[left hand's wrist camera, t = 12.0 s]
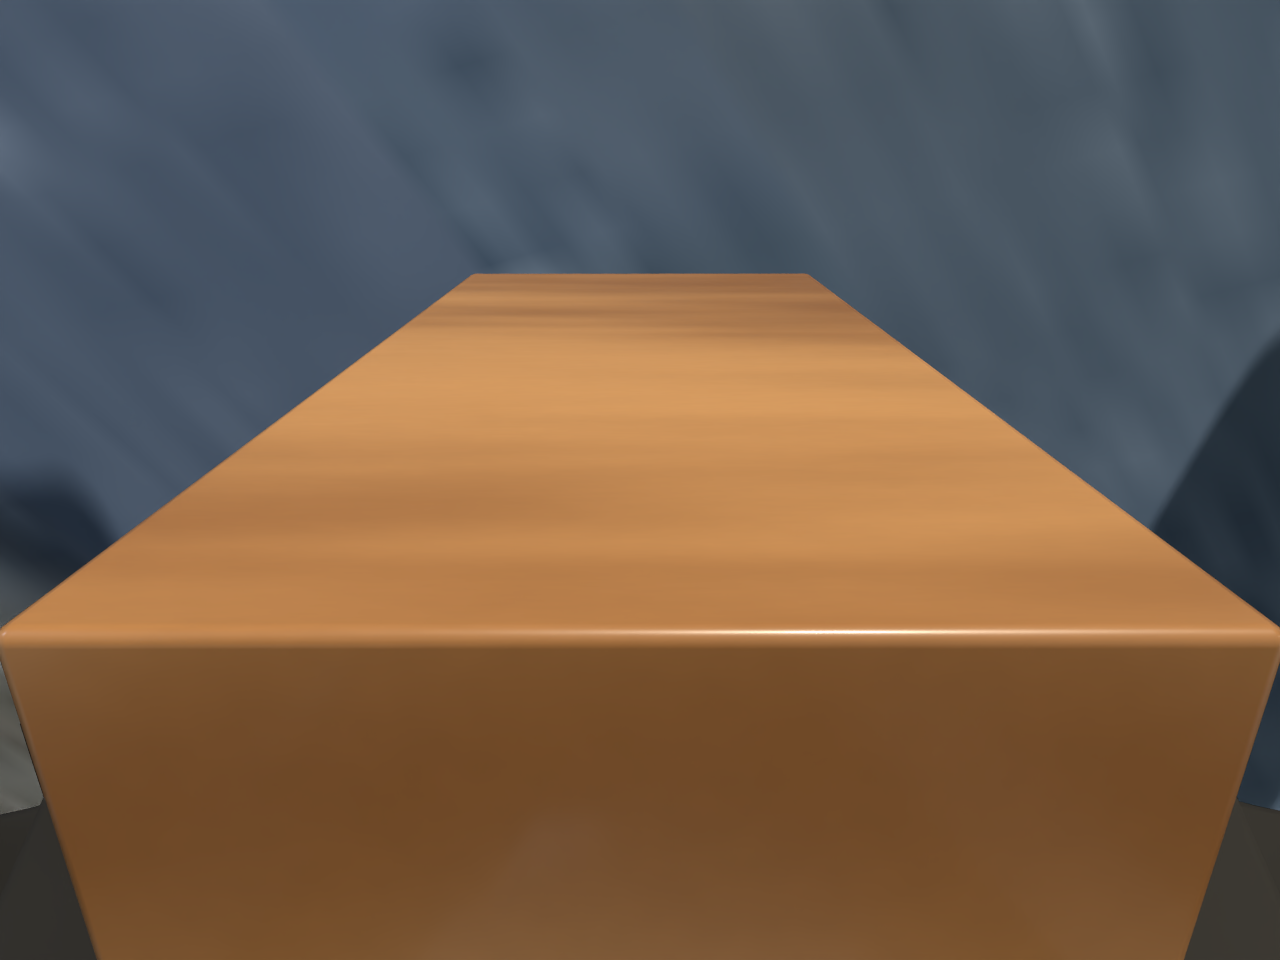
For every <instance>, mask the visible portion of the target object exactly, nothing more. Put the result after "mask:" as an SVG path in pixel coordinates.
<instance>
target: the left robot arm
mask: <svg viewBox="0 0 1280 960" xmlns="http://www.w3.org/2000/svg"><path fill="white" fill-rule="evenodd" d="M20 726H21V723H20ZM21 729H22V726H21ZM22 732H23V729H22ZM23 735H24V732H23ZM24 738H25V735H24ZM25 741H26V738H25ZM26 744H27V742H26ZM27 747H28V745H27ZM28 750H29V748H28ZM29 753H30V751H29ZM30 756H31V754H30ZM31 759H32V757H31ZM32 763H33V760H32ZM33 766H34V763H33ZM34 769H35V766H34ZM35 772H36V769H35ZM36 775H37V773H36ZM37 778H38V776H37ZM38 781H39V779H38ZM39 784H40V782H39ZM40 787H41V785H40ZM41 790H42V788H41ZM42 793H43V791H42ZM43 796H44V794H43ZM0 960H97V958H96V955H95V952H94V949H93V946H92V943H91V940H90V937H89V933H88V930H87V927H86V924H85V921H84V918H83V915H82V912H81V909H80V906H79V903H78V899H77V896H76V893H75V890H74V887H73V884H72V881H71V878H70V875H69V872H68V868H67V865H66V862H65V859H64V856H63V853H62V850H61V847H60V844H59V841H58V838H57V834H56V831H55V828H54V825H53V822H52V819H51V816H50V813H49V810H48V807H47V803H46V800H45V797H44V798H43V800H42V802H41V805H40V806H36V807H32V808H29V809H24V810H20V811H15V812H10V813H6V814H1V815H0ZM1184 960H1280V811H1278V810H1273V809H1268V808H1264V807H1259V806H1254V805H1251V804H1247V803H1243V802H1240V801H1238V798H1237V796H1236V799H1235V803H1234V806H1233V809H1232V812H1231V815H1230V818H1229V821H1228V824H1227V827H1226V831H1225V834H1224V837H1223V840H1222V843H1221V846H1220V849H1219V852H1218V855H1217V858H1216V862H1215V865H1214V868H1213V871H1212V874H1211V877H1210V880H1209V883H1208V886H1207V889H1206V893H1205V896H1204V899H1203V902H1202V905H1201V908H1200V911H1199V914H1198V917H1197V920H1196V924H1195V927H1194V930H1193V933H1192V936H1191V939H1190V942H1189V945H1188V948H1187V951H1186V955H1185V958H1184Z"/></svg>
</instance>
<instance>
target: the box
mask: <svg viewBox="0 0 1280 960" xmlns="http://www.w3.org/2000/svg"><path fill="white" fill-rule="evenodd" d="M0 661H1V664H2V667H3V670H4V674H5V677H6V680H7V683H8V686H9V689H10V692H11V695H12V698H13V701H14V704H15V708H16V711H17V714H18V717H19V720H20V723H21V726H22V729H23V732H24V735H25V738H26V742H27V745H28V748H29V751H30V754H31V757H32V760H33V763H34V766H35V769H36V773H37V776H38V779H39V782H40V785H41V788H42V791H43V794H44V797H45V800H46V803H47V807H48V810H49V813H50V816H51V819H52V822H53V825H54V828H55V831H56V834H57V838H58V841H59V844H60V847H61V850H62V853H63V856H64V859H65V862H66V865H67V868H68V872H69V875H70V878H71V881H72V884H73V887H74V890H75V893H76V896H77V899H78V903H79V906H80V909H81V912H82V915H83V918H84V921H85V924H86V927H87V930H88V933H89V937H90V940H91V943H92V946H93V949H94V952H95V955H96V958H97V960H1184V958H1185V955H1186V951H1187V948H1188V945H1189V942H1190V939H1191V936H1192V933H1193V930H1194V927H1195V924H1196V920H1197V917H1198V914H1199V911H1200V908H1201V905H1202V902H1203V899H1204V896H1205V893H1206V889H1207V886H1208V883H1209V880H1210V877H1211V874H1212V871H1213V868H1214V865H1215V862H1216V858H1217V855H1218V852H1219V849H1220V846H1221V843H1222V840H1223V837H1224V834H1225V831H1226V827H1227V824H1228V821H1229V818H1230V815H1231V812H1232V809H1233V806H1234V803H1235V799H1236V796H1237V793H1238V790H1239V787H1240V784H1241V781H1242V778H1243V775H1244V772H1245V768H1246V765H1247V762H1248V759H1249V756H1250V753H1251V750H1252V747H1253V744H1254V741H1255V737H1256V734H1257V731H1258V728H1259V725H1260V722H1261V719H1262V716H1263V713H1264V710H1265V706H1266V703H1267V700H1268V697H1269V694H1270V691H1271V688H1272V685H1273V682H1274V679H1275V675H1276V672H1277V669H1278V666H1279V663H1280V628H1279V627H1278V626H1277V625H1276V624H1274V623H1273V622H1272V621H1270V620H1269V619H1268V618H1266V617H1265V616H1264V615H1262V614H1261V613H1260V612H1258V611H1257V610H1256V609H1254V608H1253V607H1252V606H1250V605H1249V604H1248V603H1246V602H1245V601H1244V600H1242V599H1241V598H1240V597H1238V596H1237V595H1236V594H1234V593H1233V592H1232V591H1230V590H1229V589H1228V588H1226V587H1225V586H1224V585H1222V584H1221V583H1220V582H1218V581H1217V580H1216V579H1214V578H1213V577H1212V576H1210V575H1209V574H1208V573H1206V572H1205V571H1204V570H1202V569H1201V568H1200V567H1198V566H1197V565H1196V564H1194V563H1193V562H1192V561H1190V560H1189V559H1188V558H1186V557H1185V556H1184V555H1182V554H1181V553H1180V552H1178V551H1177V550H1176V549H1174V548H1173V547H1172V546H1170V545H1169V544H1168V543H1166V542H1165V541H1164V540H1162V539H1161V538H1160V537H1158V536H1157V535H1156V534H1154V533H1153V532H1152V531H1150V530H1149V529H1148V528H1146V527H1145V526H1144V525H1142V524H1141V523H1140V522H1138V521H1137V520H1136V519H1134V518H1133V517H1132V516H1130V515H1129V514H1128V513H1126V512H1125V511H1124V510H1122V509H1121V508H1120V507H1118V506H1117V505H1116V504H1114V503H1113V502H1112V501H1110V500H1109V499H1108V498H1106V497H1105V496H1104V495H1102V494H1101V493H1100V492H1098V491H1097V490H1096V489H1094V488H1093V487H1092V486H1090V485H1089V484H1087V483H1086V482H1085V481H1083V480H1082V479H1081V478H1079V477H1078V476H1077V475H1075V474H1074V473H1073V472H1071V471H1070V470H1069V469H1067V468H1066V467H1065V466H1063V465H1062V464H1061V463H1059V462H1058V461H1057V460H1055V459H1054V458H1053V457H1051V456H1050V455H1049V454H1047V453H1046V452H1045V451H1043V450H1042V449H1041V448H1039V447H1038V446H1037V445H1035V444H1034V443H1033V442H1031V441H1030V440H1029V439H1027V438H1026V437H1025V436H1023V435H1022V434H1021V433H1019V432H1018V431H1017V430H1015V429H1014V428H1013V427H1011V426H1010V425H1009V424H1007V423H1006V422H1005V421H1003V420H1002V419H1001V418H999V417H998V416H997V415H995V414H994V413H993V412H991V411H990V410H989V409H987V408H986V407H985V406H983V405H982V404H981V403H979V402H978V401H977V400H975V399H974V398H973V397H971V396H970V395H969V394H967V393H966V392H965V391H963V390H962V389H961V388H959V387H958V386H957V385H955V384H954V383H953V382H951V381H950V380H949V379H947V378H946V377H945V376H943V375H942V374H941V373H939V372H938V371H937V370H935V369H934V368H933V367H931V366H930V365H929V364H927V363H926V362H925V361H923V360H922V359H921V358H919V357H918V356H917V355H915V354H914V353H913V352H911V351H910V350H909V349H907V348H906V347H905V346H903V345H902V344H901V343H899V342H898V341H896V340H895V339H894V338H892V337H891V336H890V335H888V334H887V333H886V332H884V331H883V330H882V329H880V328H879V327H878V326H876V325H875V324H874V323H872V322H871V321H870V320H868V319H867V318H866V317H864V316H863V315H862V314H860V313H859V312H858V311H856V310H855V309H854V308H852V307H851V306H850V305H848V304H847V303H846V302H844V301H843V300H842V299H840V298H839V297H838V296H836V295H835V294H834V293H832V292H831V291H830V290H828V289H827V288H826V287H824V286H823V285H822V284H820V283H819V282H818V281H816V280H815V279H814V278H812V277H811V276H810V275H808V274H473V275H471V276H470V277H468V278H467V279H466V280H464V281H463V282H462V283H460V284H459V285H458V286H456V287H455V288H454V289H452V290H451V291H450V292H448V293H447V294H446V295H444V296H443V297H442V298H440V299H439V300H438V301H436V302H435V303H434V304H432V305H431V306H430V307H428V308H427V309H426V310H424V311H423V312H422V313H420V314H419V315H418V316H416V317H415V318H414V319H412V320H411V321H410V322H408V323H407V324H406V325H404V326H403V327H402V328H400V329H399V330H398V331H396V332H395V333H394V334H392V335H391V336H390V337H388V338H387V339H386V340H384V341H383V342H382V343H380V344H379V345H378V346H376V347H375V348H374V349H372V350H371V351H370V352H368V353H367V354H366V355H364V356H363V357H362V358H360V359H359V360H358V361H356V362H355V363H354V364H352V365H351V366H350V367H348V368H347V369H346V370H344V371H343V372H342V373H340V374H339V375H338V376H336V377H335V378H334V379H332V380H331V381H330V382H328V383H327V384H326V385H324V386H323V387H322V388H320V389H319V390H318V391H316V392H315V393H314V394H312V395H311V396H310V397H308V398H307V399H306V400H304V401H303V402H302V403H300V404H299V405H298V406H296V407H295V408H294V409H292V410H291V411H290V412H288V413H287V414H286V415H284V416H283V417H282V418H280V419H279V420H278V421H276V422H275V423H273V424H272V425H271V426H269V427H268V428H267V429H265V430H264V431H263V432H261V433H260V434H259V435H257V436H256V437H255V438H253V439H252V440H251V441H249V442H248V443H247V444H245V445H244V446H243V447H241V448H240V449H239V450H237V451H236V452H235V453H233V454H232V455H231V456H229V457H228V458H227V459H225V460H224V461H223V462H221V463H220V464H219V465H217V466H216V467H215V468H213V469H212V470H211V471H209V472H208V473H207V474H205V475H204V476H203V477H201V478H200V479H199V480H197V481H196V482H195V483H193V484H192V485H191V486H189V487H188V488H187V489H185V490H184V491H183V492H181V493H180V494H179V495H177V496H176V497H175V498H173V499H172V500H171V501H169V502H168V503H167V504H165V505H164V506H163V507H161V508H160V509H159V510H157V511H156V512H155V513H153V514H152V515H151V516H149V517H148V518H147V519H145V520H144V521H143V522H141V523H140V524H139V525H137V526H136V527H135V528H133V529H132V530H131V531H129V532H128V533H127V534H125V535H124V536H123V537H121V538H120V539H119V540H117V541H116V542H115V543H113V544H112V545H111V546H109V547H108V548H107V549H105V550H104V551H103V552H101V553H100V554H99V555H97V556H96V557H95V558H93V559H92V560H91V561H89V562H88V563H87V564H85V565H84V566H83V567H81V568H80V569H79V570H77V571H76V572H75V573H73V574H72V575H71V576H69V577H68V578H67V579H65V580H64V581H63V582H61V583H60V584H59V585H57V586H56V587H55V588H53V589H52V590H51V591H49V592H48V593H47V594H45V595H44V596H43V597H41V598H40V599H39V600H37V601H36V602H35V603H33V604H32V605H31V606H29V607H28V608H27V609H25V610H24V611H23V612H21V613H20V614H19V615H17V616H16V617H15V618H13V619H12V620H11V621H9V622H8V623H7V624H5V625H4V626H3V627H1V629H0Z"/></svg>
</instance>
